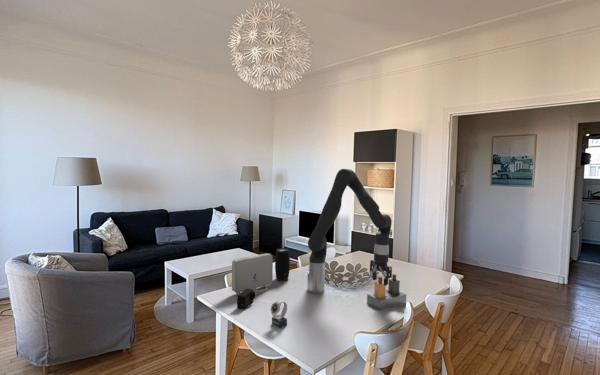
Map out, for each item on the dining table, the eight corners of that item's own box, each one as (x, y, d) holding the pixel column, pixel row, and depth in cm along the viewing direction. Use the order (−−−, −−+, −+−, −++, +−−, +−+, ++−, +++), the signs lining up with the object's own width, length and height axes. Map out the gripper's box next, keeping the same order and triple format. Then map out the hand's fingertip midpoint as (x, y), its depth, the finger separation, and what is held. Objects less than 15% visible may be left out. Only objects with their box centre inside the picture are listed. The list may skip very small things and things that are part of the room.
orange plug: (379, 303, 172) (380, 279, 172) (374, 300, 176) (374, 276, 175) (385, 302, 174) (385, 278, 173) (379, 299, 178) (380, 275, 177)
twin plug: (393, 300, 177) (394, 276, 176) (388, 297, 181) (388, 274, 180) (398, 298, 179) (399, 275, 178) (393, 296, 183) (394, 273, 182)
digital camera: (246, 310, 166) (246, 296, 165) (237, 308, 168) (237, 295, 167) (255, 302, 176) (255, 289, 175) (246, 300, 177) (246, 288, 177)
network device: (237, 298, 181) (237, 262, 180) (229, 293, 187) (229, 258, 186) (274, 287, 198) (275, 254, 196) (266, 283, 204) (266, 251, 203)
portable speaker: (289, 281, 209) (290, 251, 208) (274, 281, 208) (275, 251, 207) (289, 276, 217) (289, 247, 216) (274, 277, 217) (275, 247, 215)
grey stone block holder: (379, 310, 169) (380, 300, 168) (367, 303, 177) (367, 293, 177) (406, 303, 178) (406, 294, 177) (392, 297, 186) (392, 288, 186)
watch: (268, 325, 150) (268, 301, 150) (281, 319, 156) (282, 297, 155) (276, 329, 146) (276, 305, 146) (289, 324, 152) (290, 300, 151)
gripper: (366, 249, 178) (365, 279, 179) (385, 256, 165) (384, 288, 166) (377, 248, 181) (376, 277, 182) (396, 255, 169) (395, 285, 170)
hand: (379, 282), depth 174 cm, fingers open, 8 cm apart
